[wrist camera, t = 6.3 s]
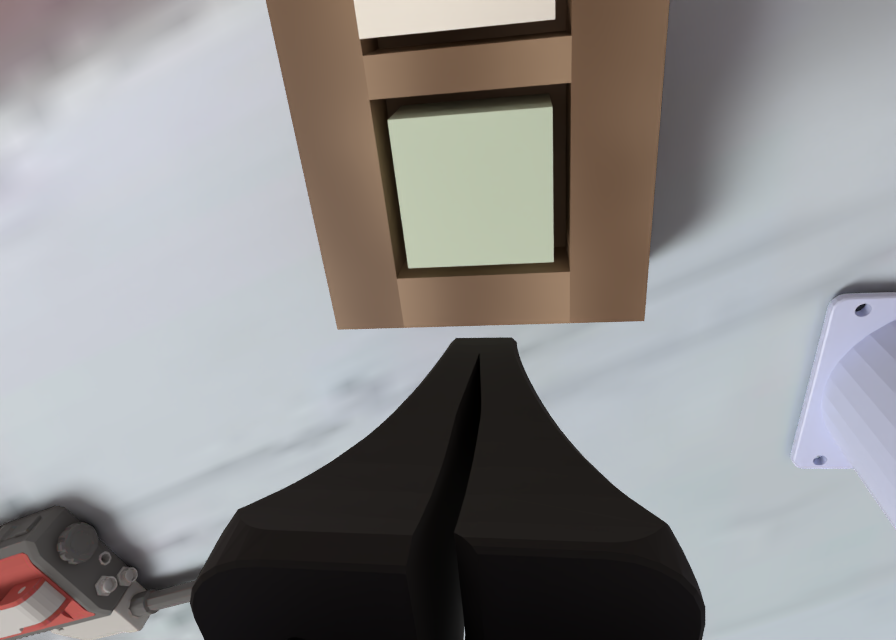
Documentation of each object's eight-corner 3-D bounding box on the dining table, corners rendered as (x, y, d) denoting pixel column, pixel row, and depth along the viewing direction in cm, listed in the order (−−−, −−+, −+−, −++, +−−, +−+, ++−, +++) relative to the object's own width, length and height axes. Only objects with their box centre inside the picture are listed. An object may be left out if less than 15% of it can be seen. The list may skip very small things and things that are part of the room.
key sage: (548, 93, 17) (552, 107, 15) (550, 234, 19) (553, 262, 17) (401, 105, 18) (387, 119, 16) (419, 241, 20) (408, 268, 18)
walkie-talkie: (29, 630, 39) (265, 568, 33) (-24, 700, 35) (231, 645, 29) (-77, 546, 36) (166, 459, 29) (-148, 613, 32) (113, 530, 26)
